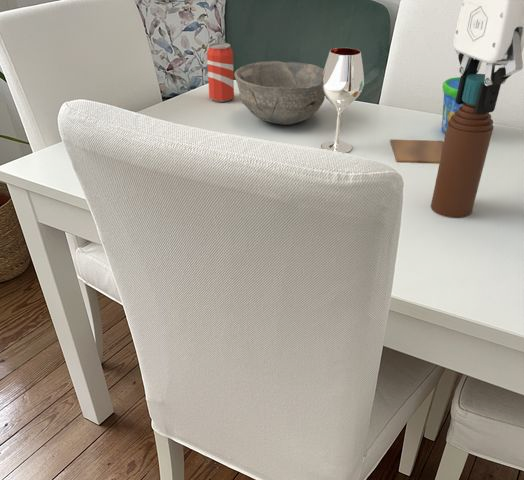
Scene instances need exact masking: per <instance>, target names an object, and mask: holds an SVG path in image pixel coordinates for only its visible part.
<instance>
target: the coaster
mask: <svg viewBox="0 0 524 480" xmlns="http://www.w3.org/2000/svg"><path fill="white" fill-rule="evenodd" d="M389 142H390V146H391V149H392V152H393V155H394V159H395V161H396V163H423V164H439V163H440V158H441V154H442V149H443V144H444V140H429V139H428V140H427V139H426V140H424V139H389Z"/></svg>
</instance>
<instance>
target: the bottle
mask: <svg viewBox="0 0 524 480" xmlns="http://www.w3.org/2000/svg"><path fill="white" fill-rule="evenodd" d="M474 109H475V105H472V104H468V103H465V102H464V103H463V106H461V107H459V109H458V111H456V112H455V113H454V115H453V116H451V118H450V120H449V121H448V124H447V129H446V133H444V134H445V135H444V138H443V139H444V140H443V142H444V144H443V149H442V154H441V158H440V163H438V168H437V174H436V179H435V182H434V183H435V185H434V189H433V193H432V197H431V198H432V199H431V203H430V208H431V210H432V212H434V213H436V214H438V215H440V216H443V217H447V218H455V219H456V218H465V217H468V216H470V215H471V214H472V212H473V209H474V206H475V201H476V197H477V192H478V191H479V186H480V182H481V177H482V175H483V171H484V167H485V162H486V159H487V154H488V150H489V147H490V143H491V139H492V136H493V132H494V120H493V119H492V115H491V114H490V112H489V113H482V114H477V113H475V112H474Z"/></svg>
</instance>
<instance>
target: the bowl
mask: <svg viewBox="0 0 524 480" xmlns="http://www.w3.org/2000/svg"><path fill="white" fill-rule="evenodd" d="M323 71H324V68H323V67H321V66H318V65H315V64H312V63H307V62H304V61H300V62H298V61H287V62H284V61H281V60H268V61H258V62H253V63H248V64H245V65H243V66H240V67H239V68H238V69H236V70H235V71H234V72H233V76H234V79H235V82H236V84H237V88H238V92H239V99H240V102H241V103H242V104H243V105H244V106H245V108H246V109H248V110H249V112H250V113H251V114H252V115H253V116H255V117H257V118H258V119H259V120H262V121H265V122H267V123H271V124H276V125H282V126H291V125H296V124H299V123H302V122H304V121H306V120H308V119H310V118H311V117H313V115H314V114H315V113H316V112H317V111H318V110H319V109H320V108H321V106H322V105H323V103H324V101H325V98H326V97H325V95H324V94H323V92H322V89H321V79H322V74H323Z"/></svg>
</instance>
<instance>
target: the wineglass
mask: <svg viewBox="0 0 524 480" xmlns="http://www.w3.org/2000/svg"><path fill="white" fill-rule="evenodd" d="M363 65H364V64H363V58H362V52H361V50H359V49H358V48H357V49H356V48H351V47H335V48H331V49H330V50H329V52H328V55H327V58H326V60H325V64H324V68H323V69H324V71H323V74H322V79H321V89H322V92H323V94H324V95H325V98H326V99H327V100H328V102H329V103H331V105H332V106H333V107H334V108H335V110H336V113H337V115H336V127H335V136H334V140H330V141H325V142H323V143H321V144H320V149H321V150H322V149H327V150H332V151H338V152H343V153H342V154H347V153H349V152H351V151H352V148H353V145H351V144H350V143H348V142H345V141H340V136H341V135H340V134H341V124H342V123H341V122H342V113H343V112H344V110H345V109H346V108H347V107H348V106H349V105H351V104H352V103H353V102H355V100H357V99H358V98H359V96H360V95H361V94H362V92H363V90H364V86H365V75H364V66H363Z"/></svg>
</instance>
